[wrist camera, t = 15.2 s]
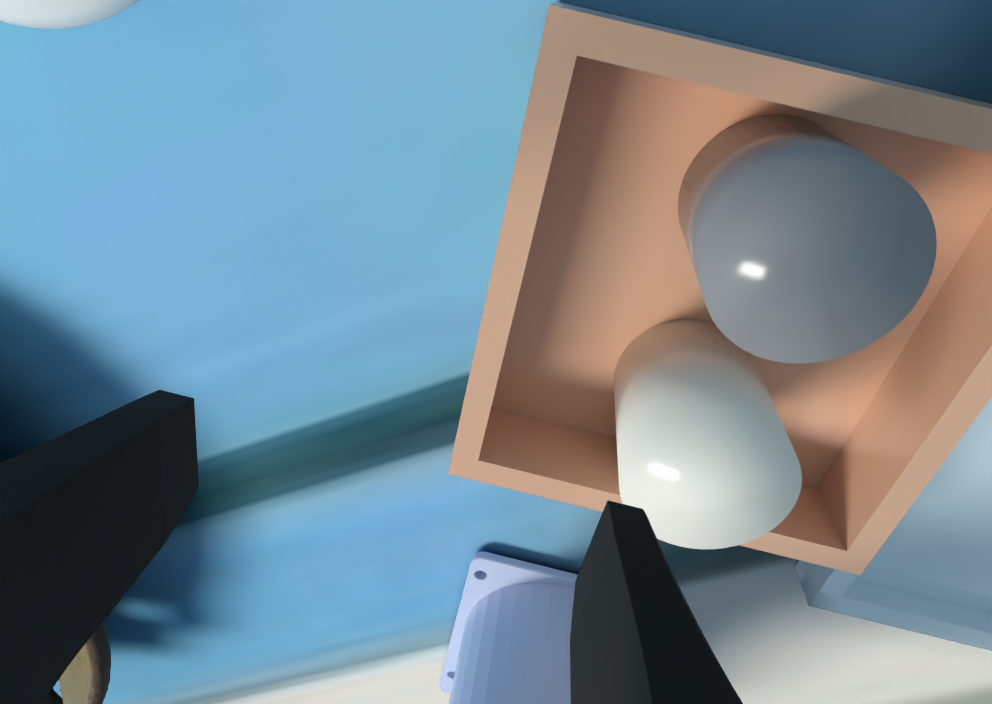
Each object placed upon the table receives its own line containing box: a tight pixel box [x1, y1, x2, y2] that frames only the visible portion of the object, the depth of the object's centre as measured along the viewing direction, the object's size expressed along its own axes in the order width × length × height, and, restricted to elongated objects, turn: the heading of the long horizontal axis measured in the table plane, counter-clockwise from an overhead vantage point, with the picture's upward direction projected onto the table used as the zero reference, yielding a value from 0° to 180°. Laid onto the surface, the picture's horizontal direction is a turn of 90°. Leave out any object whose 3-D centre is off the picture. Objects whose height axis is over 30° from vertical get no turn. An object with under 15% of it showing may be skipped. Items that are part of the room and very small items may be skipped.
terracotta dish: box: [448, 1, 992, 575], centre depth 18 cm, size 13×13×4 cm
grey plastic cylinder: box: [678, 114, 937, 364], centre depth 15 cm, size 4×4×5 cm
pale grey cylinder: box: [614, 319, 802, 549], centre depth 18 cm, size 4×4×5 cm
